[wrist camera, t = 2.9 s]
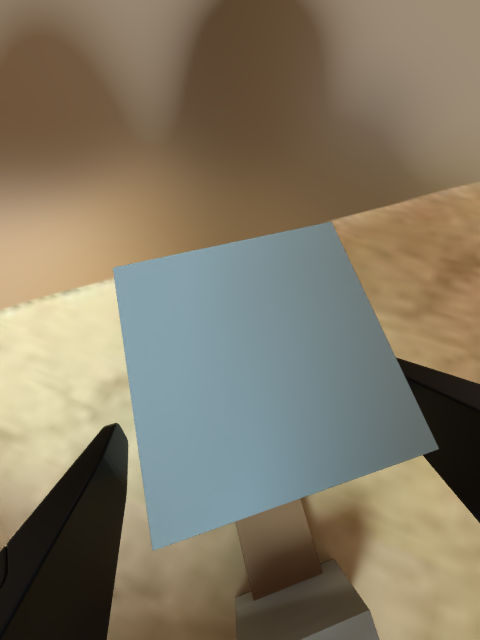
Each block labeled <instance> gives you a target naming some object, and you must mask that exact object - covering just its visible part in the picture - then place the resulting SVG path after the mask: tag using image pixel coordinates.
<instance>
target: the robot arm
mask: <svg viewBox="0 0 480 640" xmlns="http://www.w3.org/2000/svg"><path fill="white" fill-rule="evenodd" d="M396 359H397V361H398V363H399V365H400V368H401V370H402V372H403V374H404V376H405V378H406V380H407V382H408V384H409V387H410V389H411V391H412V393H413V395H414V397H415V399H416V401H417V403H418V406H419V408H420V410H421V412H422V414H423V416H424V418H425V420H426V422H427V425H428V427H429V429H430V431H431V433H432V435H433V437H434V439H435V441H436V444H437V446H438V448H439V449H438V450H435V451H432V452H429V453H427V454H424V455H423V456H424V457H425V459H426V460H427V461H428V462H429V463H430V464H431V466H432V467H433V468H434V469H435V470H436V472H437V473H438V474H439V475H440V476H441V478H442V479H443V480H444V481H445V482H446V484H447V485H448V486H449V487H450V488H451V489H452V491H453V492H454V493H455V494H456V495H457V497H458V498H459V499H460V500H461V501H462V503H463V504H464V505H465V506H466V507H467V508H468V510H469V511H470V512H471V513H472V514H473V516H474V517H475V518H476V519H477V520H478V522H479V523H480V384H478V383H475V382H471V381H468V380H465V379H462V378H459V377H456V376H453V375H449V374H446V373H443V372H440V371H437V370H434V369H430V368H427V367H424V366H421V365H418V364H415V363H411V362H408V361H405V360H402V359H399V358H396ZM127 473H128V440H127V437H126V436H125V434H124V432H123V430H122V428H121V427H120V425H119V424H118V423H114V424H110V425H107V426H105V427H103V428H102V430H101V431H100V432H99V433H98V434H97V436H96V437H95V438H94V439H93V440H92V442H91V443H90V444H89V445H88V446H87V448H86V449H85V450H84V451H83V453H82V454H81V455H80V456H79V457H78V459H77V460H76V461H75V462H74V463H73V465H72V466H71V467H70V468H69V469H68V471H67V472H66V473H65V474H64V475H63V477H62V478H61V479H60V480H59V481H58V483H57V484H56V485H55V486H54V488H53V489H52V490H51V491H50V492H49V494H48V495H47V496H46V497H45V498H44V500H43V501H42V502H41V503H40V504H39V506H38V507H37V508H36V509H35V510H34V512H33V513H32V514H31V515H30V516H29V518H28V519H27V520H26V521H25V522H24V524H23V525H22V526H21V527H20V529H19V530H18V531H17V532H16V533H15V535H14V536H13V537H12V538H11V539H10V541H9V542H8V543H7V546H5V547H4V548H3V549H2V550H1V551H0V640H107V633H108V626H109V619H110V611H111V604H112V597H113V590H114V582H115V575H116V568H117V561H118V553H119V546H120V539H121V532H122V524H123V517H124V510H125V503H126V494H127Z"/></svg>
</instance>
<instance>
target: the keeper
mask: <svg viewBox="0 0 480 640" xmlns="http://www.w3.org/2000/svg"><path fill="white" fill-rule="evenodd" d="M113 272H114V279H115V286H116V294H117V301H118V308H119V315H120V322H121V329H122V336H123V343H124V350H125V358H126V365H127V372H128V379H129V386H130V393H131V400H132V407H133V414H134V422H135V429H136V436H137V443H138V450H139V457H140V464H141V471H142V478H143V486H144V493H145V500H146V507H147V514H148V521H149V528H150V535H151V542H152V550H153V551H154V550H156V549H159V548H162V547H165V546H168V545H171V544H173V543H176V542H179V541H182V540H185V539H187V538H190V537H193V536H196V535H199V534H201V533H204V532H207V531H210V530H213V529H216V528H218V527H221V526H224V525H227V524H230V523H232V522H235V521H238V520H241V519H244V518H247V517H249V516H252V515H255V514H258V513H261V512H263V511H266V510H269V509H272V508H275V507H277V506H280V505H283V504H286V503H289V502H292V501H294V500H297V499H300V498H303V497H306V496H308V495H311V494H314V493H317V492H320V491H322V490H325V489H328V488H331V487H334V486H337V485H339V484H342V483H345V482H348V481H351V480H353V479H356V478H359V477H362V476H365V475H367V474H370V473H373V472H376V471H379V470H382V469H384V468H387V467H390V466H393V465H396V464H398V463H401V462H404V461H407V460H410V459H412V458H415V457H418V456H421V455H424V454H427V453H429V452H432V451H435V450H438V449H439V448H438V446H437V444H436V441H435V439H434V437H433V435H432V433H431V431H430V429H429V427H428V425H427V422H426V420H425V418H424V416H423V414H422V412H421V410H420V408H419V406H418V403H417V401H416V399H415V397H414V395H413V393H412V391H411V389H410V387H409V384H408V382H407V380H406V378H405V376H404V374H403V372H402V370H401V368H400V365H399V363H398V361H397V359H396V357H395V355H394V353H393V351H392V349H391V346H390V344H389V342H388V340H387V338H386V336H385V334H384V332H383V330H382V327H381V325H380V323H379V321H378V319H377V317H376V315H375V313H374V311H373V308H372V306H371V304H370V302H369V300H368V298H367V296H366V294H365V292H364V289H363V287H362V285H361V283H360V281H359V279H358V277H357V275H356V273H355V270H354V268H353V266H352V264H351V262H350V260H349V258H348V256H347V254H346V251H345V249H344V247H343V245H342V243H341V241H340V239H339V237H338V235H337V232H336V230H335V228H334V226H333V224H332V222H327V223H322V224H318V225H313V226H308V227H304V228H299V229H294V230H289V231H285V232H280V233H275V234H271V235H266V236H261V237H256V238H251V239H247V240H242V241H237V242H233V243H228V244H223V245H218V246H214V247H209V248H204V249H199V250H195V251H190V252H185V253H180V254H176V255H171V256H166V257H161V258H157V259H152V260H148V261H143V262H138V263H134V264H128V265H124V266H119V267H114V268H113Z"/></svg>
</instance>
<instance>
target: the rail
mask: <svg viewBox="0 0 480 640" xmlns="http://www.w3.org/2000/svg"><path fill="white" fill-rule="evenodd" d="M235 522H236V526H237V530H238V535H239V539H240V543H241V548H242V552H243V557H244V561H245V565H246V570H247V574H248V578H249V583H250V587H251V591H250V592H248V593H245V594H243V595H240V596H238V597H235V605H236V633H237V640H379V637H378V634H377V631H376V628H375V625H374V622H373V619H372V616H371V613H370V610H369V609H368V607H367V606H366V604H365V603H364V601H363V600H362V599H361V597H360V596H359V594H358V593H357V591H356V590H355V588H354V587H353V586H352V584H351V583H350V581H349V580H348V578H347V577H346V576H345V574H344V573H343V571H342V570H341V568H340V567H339V565H338V564H337V563H336V561H335V560H334V559H332V560H329V561H327V562H324V563H321V564H320V562H319V559H318V556H317V552H316V549H315V546H314V542H313V539H312V536H311V533H310V529H309V526H308V523H307V519H306V516H305V513H304V509H303V506H302V503H301V500H300V499H297V500H294V501H292V502H289V503H286V504H283V505H280V506H277V507H275V508H272V509H269V510H266V511H263V512H261V513H258V514H255V515H252V516H249V517H247V518H244V519H241V520H238V521H235Z"/></svg>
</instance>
